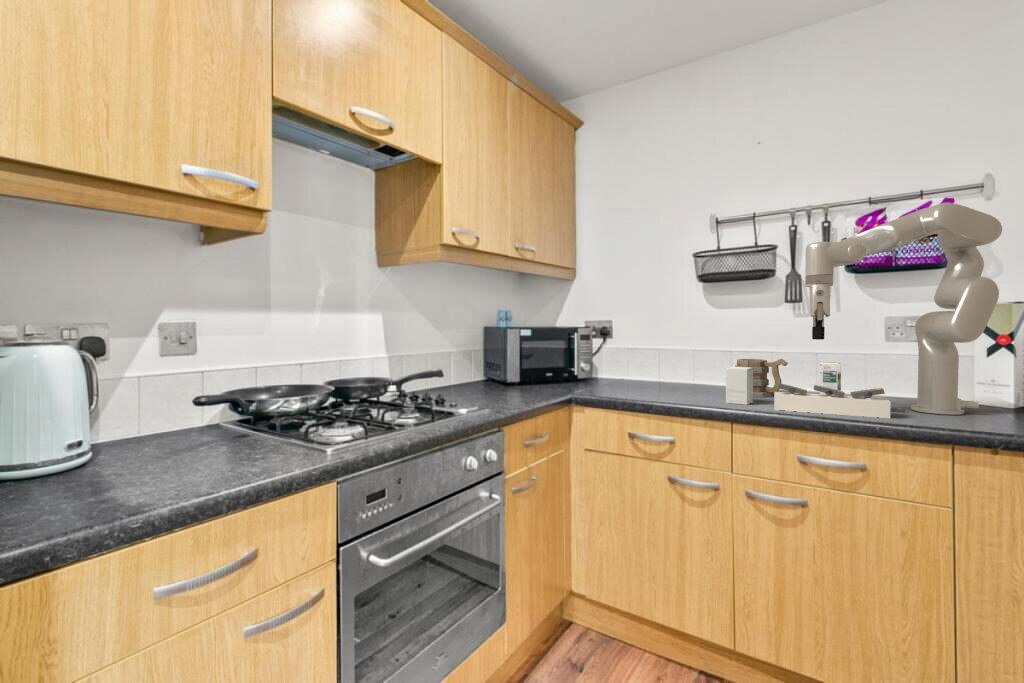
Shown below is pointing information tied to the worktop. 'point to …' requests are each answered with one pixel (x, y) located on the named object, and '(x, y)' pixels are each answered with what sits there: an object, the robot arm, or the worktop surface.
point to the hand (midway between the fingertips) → (818, 339)
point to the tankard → (763, 375)
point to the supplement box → (739, 385)
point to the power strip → (834, 404)
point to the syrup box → (830, 375)
